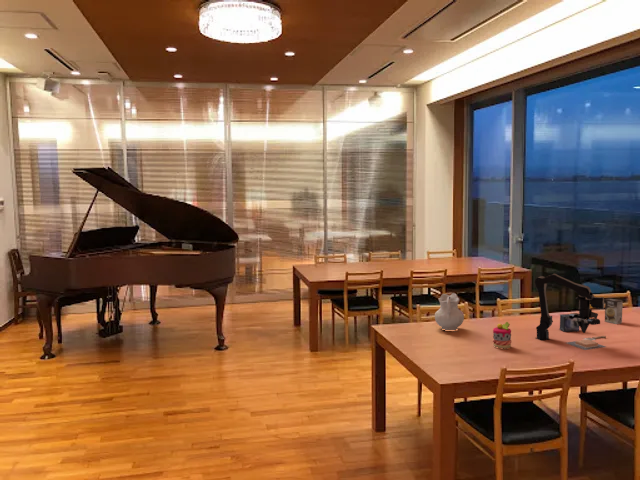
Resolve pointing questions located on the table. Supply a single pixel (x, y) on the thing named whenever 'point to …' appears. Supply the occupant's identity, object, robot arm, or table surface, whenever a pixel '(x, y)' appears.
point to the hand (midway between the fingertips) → (584, 332)
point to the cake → (502, 336)
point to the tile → (586, 343)
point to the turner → (595, 338)
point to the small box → (568, 323)
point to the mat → (584, 347)
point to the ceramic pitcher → (449, 312)
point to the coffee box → (613, 311)
